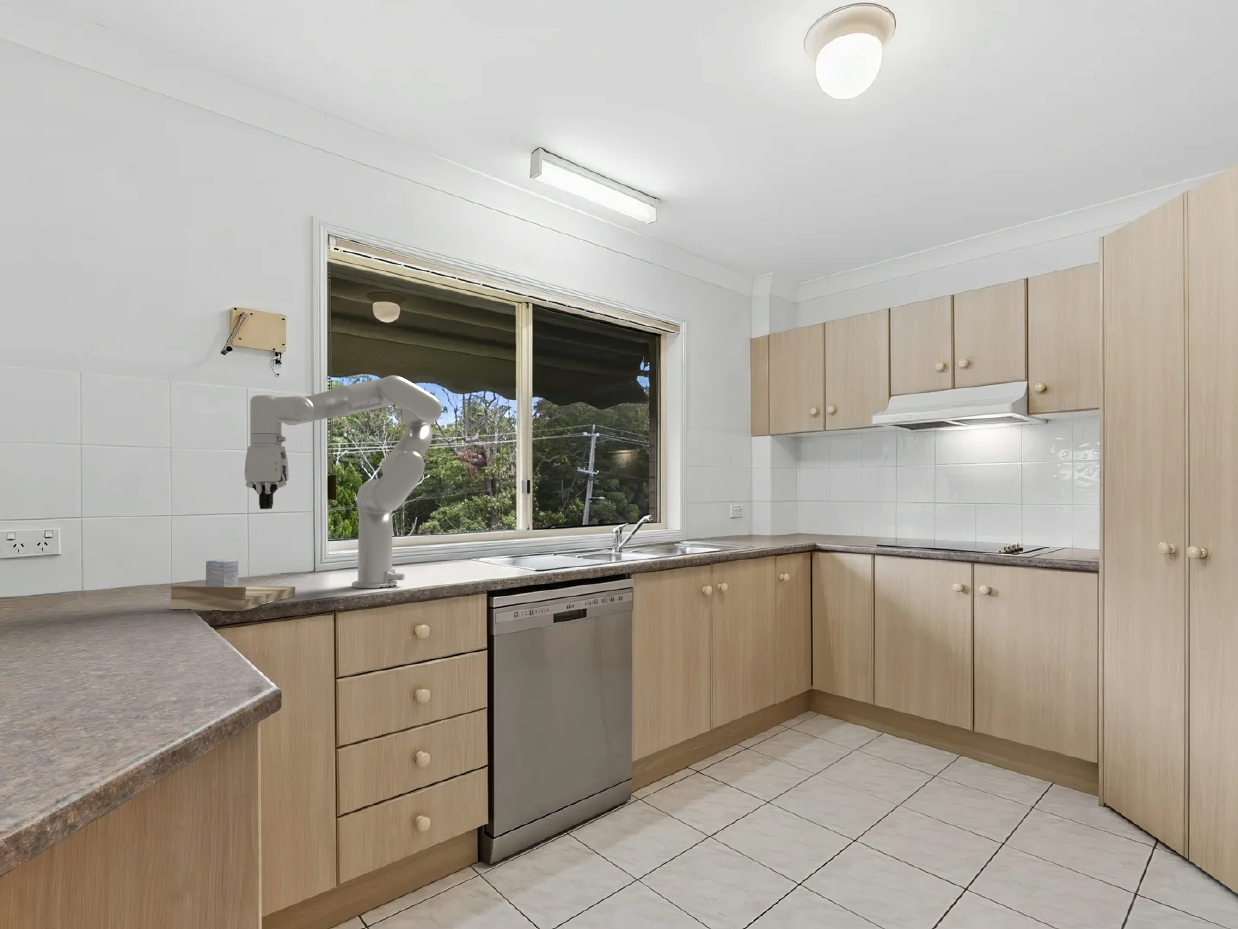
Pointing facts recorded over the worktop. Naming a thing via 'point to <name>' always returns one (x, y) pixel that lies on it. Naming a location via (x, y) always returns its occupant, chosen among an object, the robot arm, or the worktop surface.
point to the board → (226, 597)
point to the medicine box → (221, 573)
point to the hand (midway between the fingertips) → (266, 508)
